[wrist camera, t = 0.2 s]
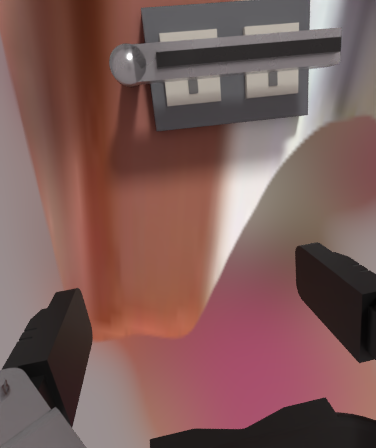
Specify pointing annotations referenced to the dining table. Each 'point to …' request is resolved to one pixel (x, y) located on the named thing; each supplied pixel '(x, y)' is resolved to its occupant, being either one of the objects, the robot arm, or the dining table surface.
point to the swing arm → (225, 56)
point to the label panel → (231, 85)
